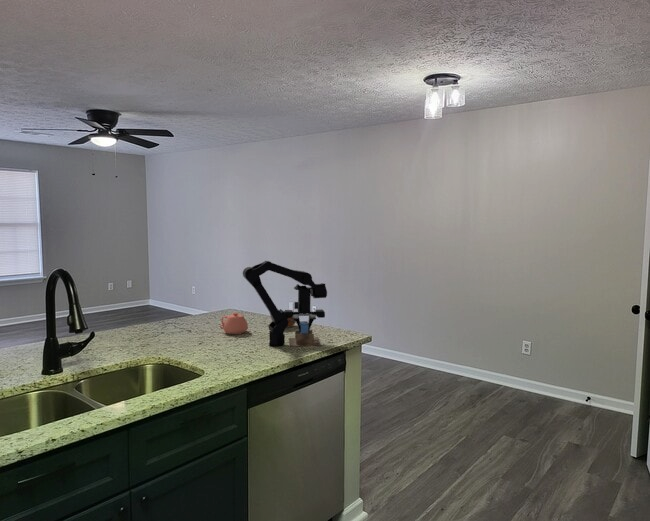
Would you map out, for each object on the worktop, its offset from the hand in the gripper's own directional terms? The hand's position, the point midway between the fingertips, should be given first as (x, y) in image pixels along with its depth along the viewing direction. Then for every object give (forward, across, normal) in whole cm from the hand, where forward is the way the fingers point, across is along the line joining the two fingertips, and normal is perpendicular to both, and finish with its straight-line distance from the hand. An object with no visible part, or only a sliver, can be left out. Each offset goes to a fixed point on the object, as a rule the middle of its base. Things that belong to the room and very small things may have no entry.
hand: (304, 332), depth 215 cm
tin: (+5, +8, -31) cm, 32 cm away
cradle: (+5, 0, 0) cm, 5 cm away
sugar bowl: (+5, +34, -22) cm, 41 cm away
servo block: (+2, 0, 0) cm, 2 cm away
